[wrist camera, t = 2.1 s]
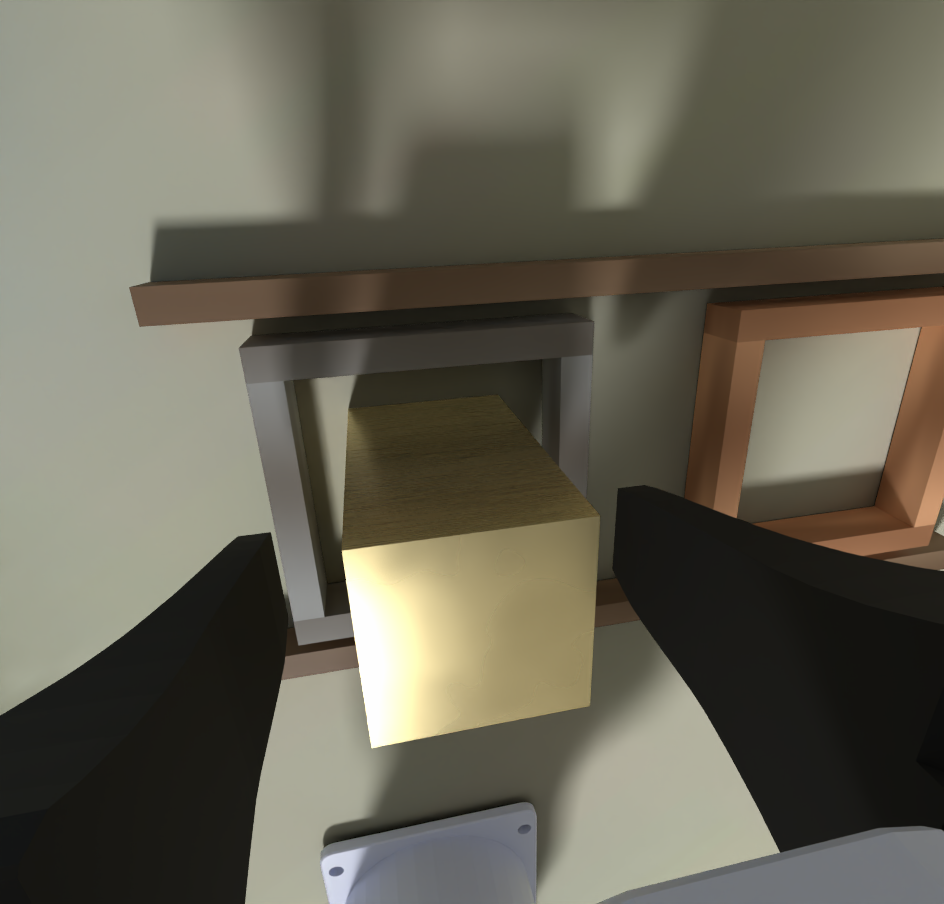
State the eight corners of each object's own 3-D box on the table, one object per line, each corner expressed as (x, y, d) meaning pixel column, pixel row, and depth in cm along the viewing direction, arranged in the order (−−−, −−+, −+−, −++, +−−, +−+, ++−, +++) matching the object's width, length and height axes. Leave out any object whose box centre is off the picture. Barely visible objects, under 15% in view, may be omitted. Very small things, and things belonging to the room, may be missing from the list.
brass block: (500, 522, 17) (589, 705, 10) (365, 540, 16) (371, 747, 10) (497, 394, 15) (600, 516, 9) (348, 408, 14) (341, 551, 8)
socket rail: (925, 548, 20) (966, 571, 19) (243, 657, 17) (233, 695, 15) (1024, 234, 16) (1085, 234, 15) (149, 282, 12) (123, 288, 11)
